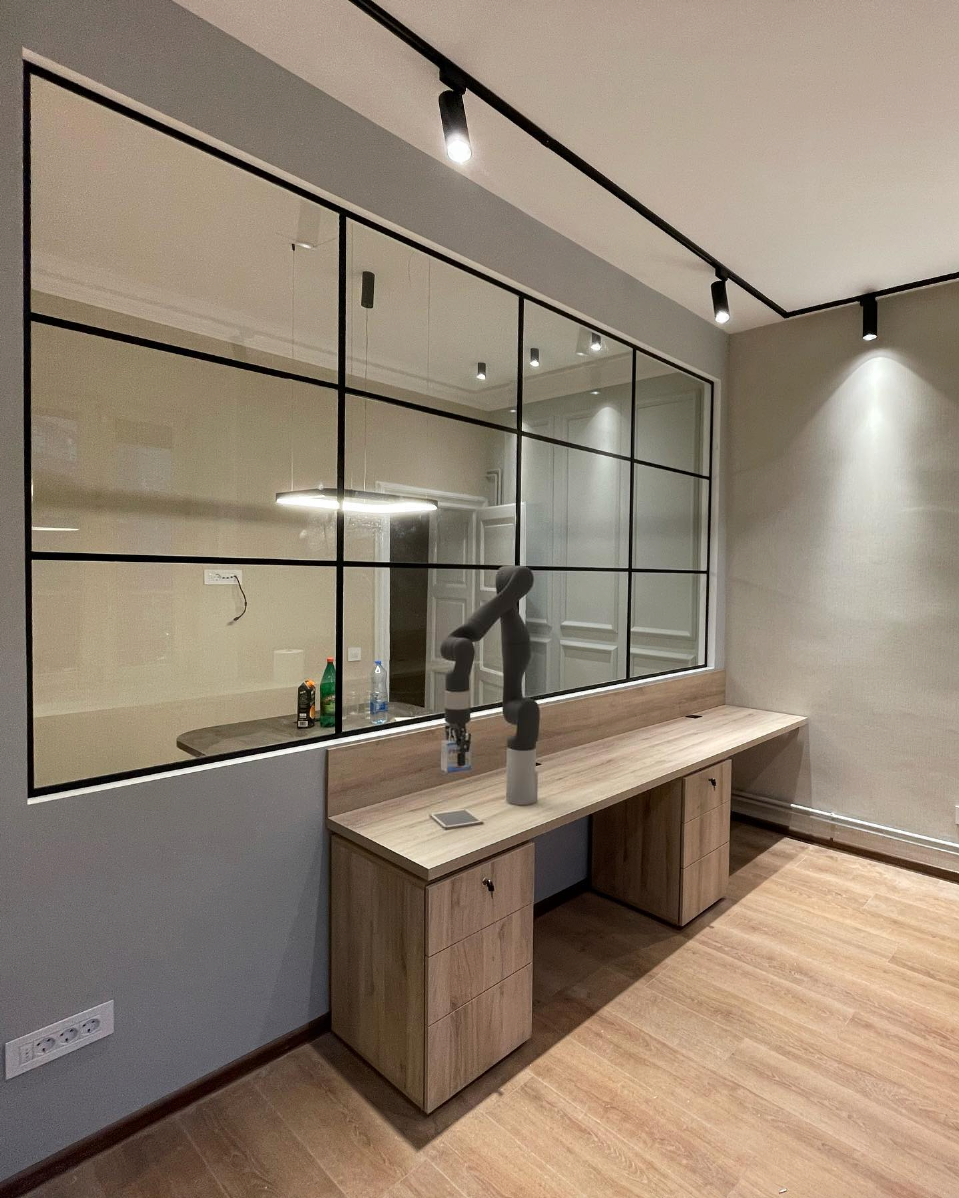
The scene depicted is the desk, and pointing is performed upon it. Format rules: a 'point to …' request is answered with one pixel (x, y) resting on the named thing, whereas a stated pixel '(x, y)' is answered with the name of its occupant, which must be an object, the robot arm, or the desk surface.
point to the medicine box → (453, 757)
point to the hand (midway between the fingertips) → (457, 763)
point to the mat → (456, 819)
